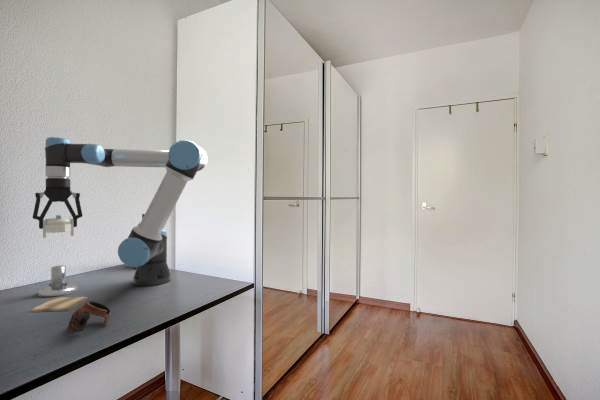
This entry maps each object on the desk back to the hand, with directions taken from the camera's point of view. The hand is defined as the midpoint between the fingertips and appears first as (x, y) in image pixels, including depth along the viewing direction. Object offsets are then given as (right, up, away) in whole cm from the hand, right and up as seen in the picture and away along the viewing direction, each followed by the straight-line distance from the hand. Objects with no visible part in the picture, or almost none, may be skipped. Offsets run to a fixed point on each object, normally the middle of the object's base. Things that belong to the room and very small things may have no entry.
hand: (58, 236), depth 118 cm
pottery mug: (+33, -23, -30) cm, 50 cm away
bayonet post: (-1, -22, +1) cm, 22 cm away
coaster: (+11, -22, -13) cm, 28 cm away
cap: (0, +2, 0) cm, 2 cm away
